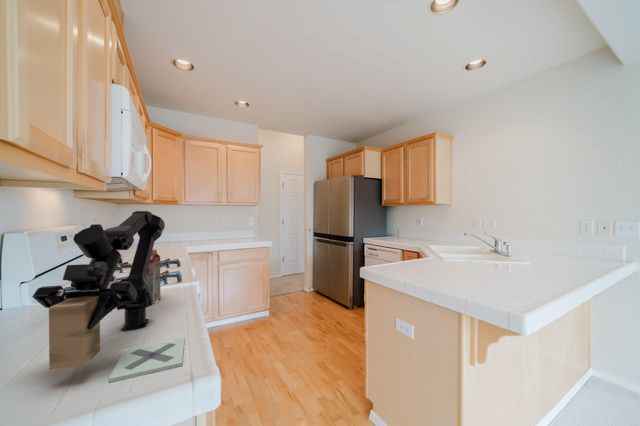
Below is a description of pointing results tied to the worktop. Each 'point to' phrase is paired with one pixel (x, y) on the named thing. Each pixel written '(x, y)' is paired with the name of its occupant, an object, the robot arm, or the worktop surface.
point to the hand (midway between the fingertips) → (71, 330)
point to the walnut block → (72, 333)
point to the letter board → (148, 359)
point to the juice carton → (154, 276)
